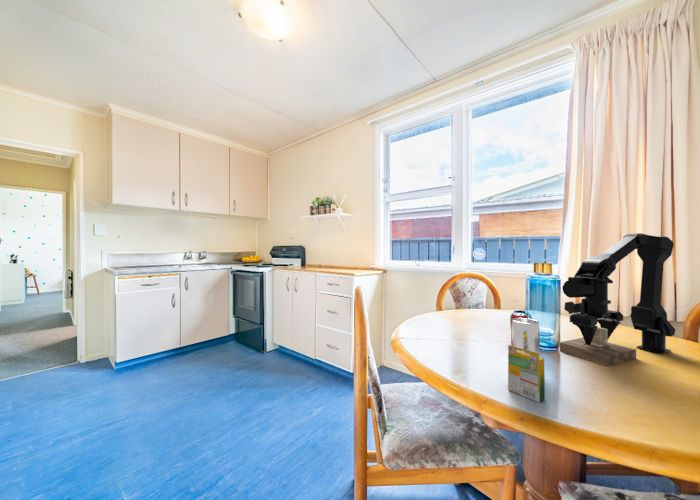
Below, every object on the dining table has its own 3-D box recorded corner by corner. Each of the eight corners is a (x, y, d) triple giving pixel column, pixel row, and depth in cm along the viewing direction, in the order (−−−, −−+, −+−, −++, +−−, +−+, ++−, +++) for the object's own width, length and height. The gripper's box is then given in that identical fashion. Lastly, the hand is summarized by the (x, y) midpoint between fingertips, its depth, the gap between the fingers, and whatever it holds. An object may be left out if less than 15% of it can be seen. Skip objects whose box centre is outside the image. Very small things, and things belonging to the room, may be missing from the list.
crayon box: (545, 399, 67) (545, 351, 67) (539, 403, 65) (539, 353, 65) (513, 386, 73) (513, 342, 73) (507, 390, 72) (507, 344, 71)
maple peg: (593, 351, 97) (593, 325, 97) (607, 355, 93) (607, 329, 93) (585, 353, 95) (585, 327, 95) (600, 357, 92) (600, 330, 92)
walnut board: (586, 344, 104) (586, 336, 104) (636, 358, 91) (636, 349, 91) (559, 350, 98) (559, 342, 98) (608, 366, 85) (608, 356, 85)
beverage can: (530, 350, 99) (530, 316, 99) (514, 349, 100) (514, 315, 100) (524, 345, 104) (524, 312, 104) (509, 344, 105) (508, 312, 105)
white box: (530, 379, 77) (530, 325, 77) (506, 369, 84) (506, 319, 83) (545, 373, 81) (544, 321, 80) (520, 364, 87) (520, 316, 87)
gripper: (586, 291, 105) (586, 332, 105) (552, 294, 98) (553, 339, 98) (623, 296, 95) (624, 342, 95) (589, 300, 88) (589, 349, 88)
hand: (596, 342), depth 94 cm, fingers open, 9 cm apart
